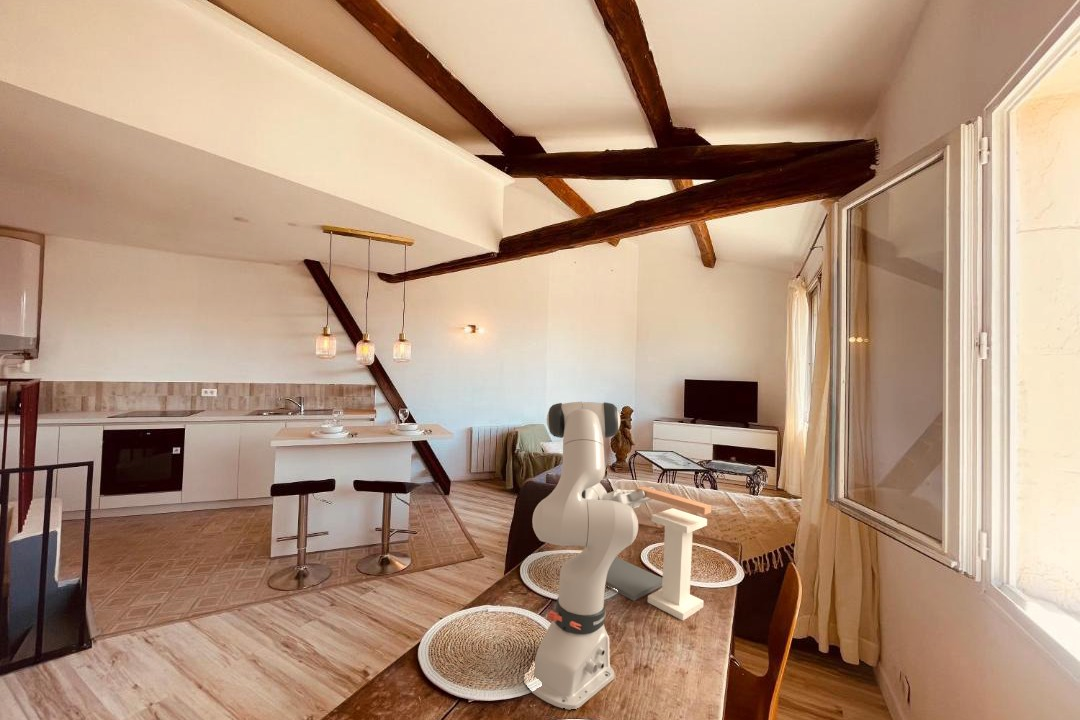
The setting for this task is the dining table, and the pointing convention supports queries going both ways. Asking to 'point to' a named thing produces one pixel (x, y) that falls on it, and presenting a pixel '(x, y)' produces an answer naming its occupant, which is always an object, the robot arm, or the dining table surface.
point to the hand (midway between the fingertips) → (649, 491)
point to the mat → (631, 579)
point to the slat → (676, 500)
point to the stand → (677, 563)
